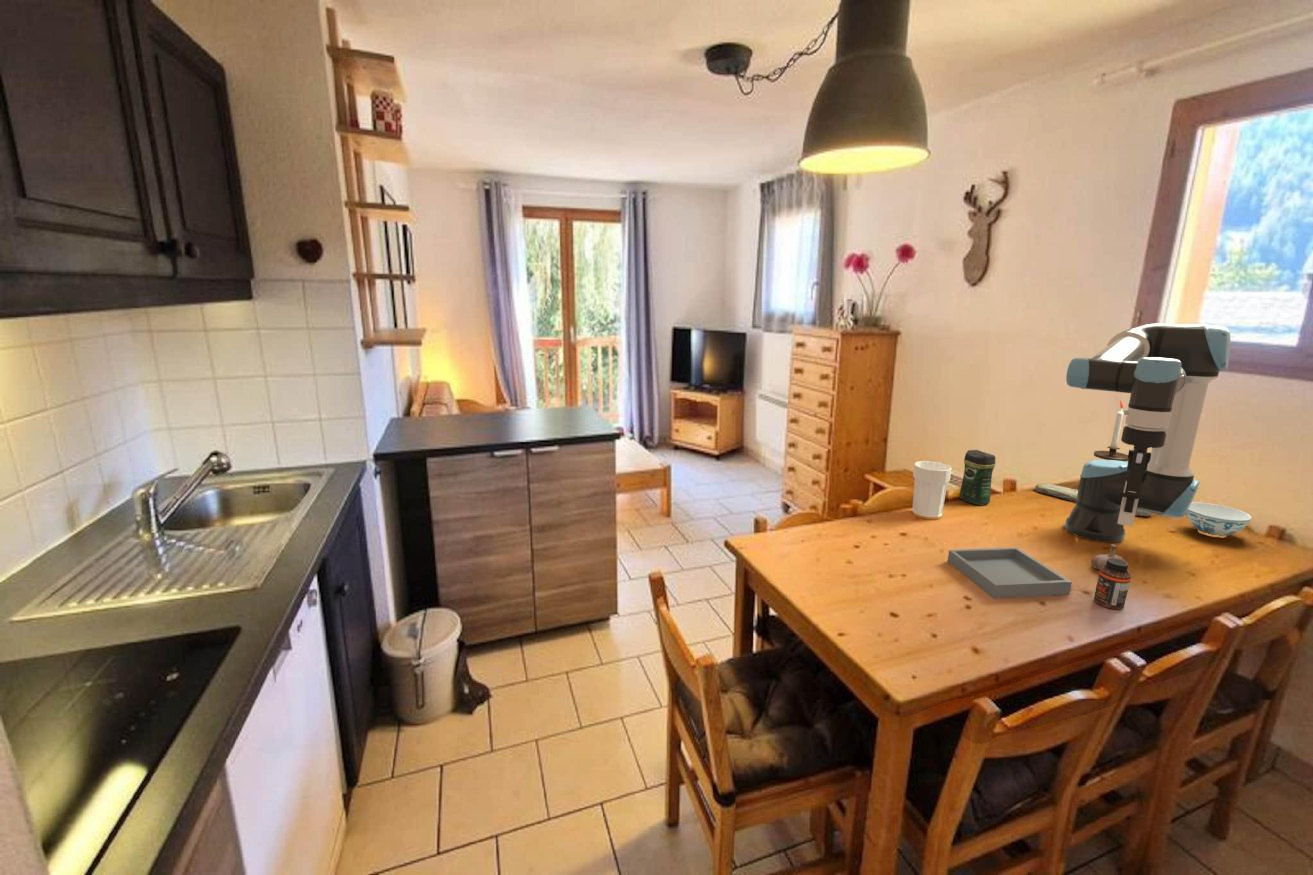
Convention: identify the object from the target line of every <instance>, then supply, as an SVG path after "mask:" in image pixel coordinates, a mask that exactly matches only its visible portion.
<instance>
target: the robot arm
mask: <svg viewBox="0 0 1313 875" xmlns="http://www.w3.org/2000/svg"><path fill="white" fill-rule="evenodd" d="M1230 354H1231V332H1230V330H1229V329H1228V328H1227V327H1225V326H1220V325H1213V324H1211V325H1210V324H1180V323H1179V324H1177V323H1176V324H1175V323H1173V324H1172V323H1150V324H1144V325H1140V326H1139V325H1138V326H1134V327H1131V328H1129V329H1126V330H1123V331H1122V332H1119V333H1117V334H1116V335H1114V336H1112V338H1110V340H1109V342H1108V343H1107V345H1106V347H1104V348H1103V349H1102V350H1100V351H1099V352H1098V353H1096V354H1095V355H1094V356H1092V357H1090V358H1088V357H1085V356H1084V357H1075V358H1072V360H1071V361H1070V362H1069V363H1068V367H1067V369H1066V370H1067V371H1066V376H1065V377H1066V379H1065V380H1066V385H1068V387H1072V388H1077V389H1082V390H1095V391H1096V390H1097V391H1104V392H1105V391H1106V392H1114V393H1124V394H1130V397H1129V402H1128V405H1127V406H1128V407H1127V410H1123V411H1122V412H1123V415H1125V416H1126V417H1125V422H1124V423H1125V424H1126V425H1125V426H1123V429H1122V432H1121V438H1120V441H1121V442H1122V443H1124V444H1126V445H1127V446H1128V445H1129V446H1133V449H1129V450H1128V453H1127V455H1128V458H1127V459H1128V461H1117V460H1106V459H1097V460H1096V459H1095V460H1090V461H1087V462H1086V463H1084V464H1083V466H1082V470H1081V473H1080V475H1079V477H1080V478H1079V479H1080V480H1079V484H1078V489H1077V490H1078V494H1077V500H1076V502H1075V505H1074V507H1073V508H1072V510H1071V512H1070V514H1069V516H1068V517H1066V519H1065V520H1064V521H1065V522H1064V530H1066V531H1067V532H1069V533H1070V534H1072V535H1074V536H1077V537H1079V538H1082V539H1087V540H1091V541H1095V542H1100V543H1101V542H1102V543H1120V542H1122V541H1124V540H1125V536H1126V529H1125V526H1127V527H1131V528H1132V527H1133V526H1134V522H1135V517H1136V515H1135V513H1136V510H1140V511H1145V512H1149V513H1152V514H1155V515H1158V516H1161V517H1164V516H1165V517H1169V518H1174V519H1179V518H1182V517H1184V516H1186V512H1187V510H1188V508H1189V506H1190V504H1191V503H1193V502H1192V501H1193V500H1194V498H1195V495H1196V493H1197V491H1198V489H1199V488H1198V487H1199V486H1200V480H1197V479H1194V478H1195V471H1193V470H1192V468H1190V463H1191V458H1192V454H1193V450H1194V446H1195V442H1196V438H1197V433H1198V429H1199V423H1200V421H1201V417H1202V412H1203V408H1204V404H1205V399H1206V395H1207V390H1208V388H1209V383H1210V382H1212V381H1213V380H1215V379H1217V378H1219V373H1220V372H1224V371H1227V370H1228V368H1229V362H1230V356H1231V355H1230ZM1150 448H1151V452H1148V449H1150Z"/></svg>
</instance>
